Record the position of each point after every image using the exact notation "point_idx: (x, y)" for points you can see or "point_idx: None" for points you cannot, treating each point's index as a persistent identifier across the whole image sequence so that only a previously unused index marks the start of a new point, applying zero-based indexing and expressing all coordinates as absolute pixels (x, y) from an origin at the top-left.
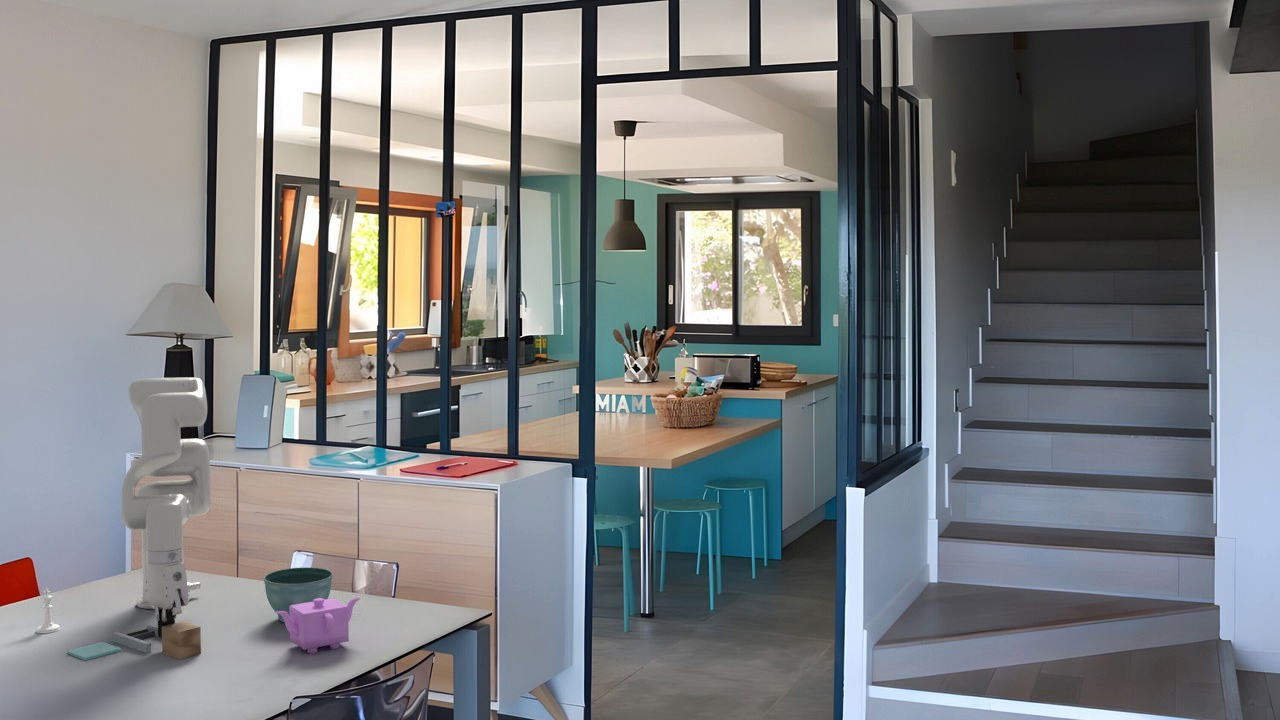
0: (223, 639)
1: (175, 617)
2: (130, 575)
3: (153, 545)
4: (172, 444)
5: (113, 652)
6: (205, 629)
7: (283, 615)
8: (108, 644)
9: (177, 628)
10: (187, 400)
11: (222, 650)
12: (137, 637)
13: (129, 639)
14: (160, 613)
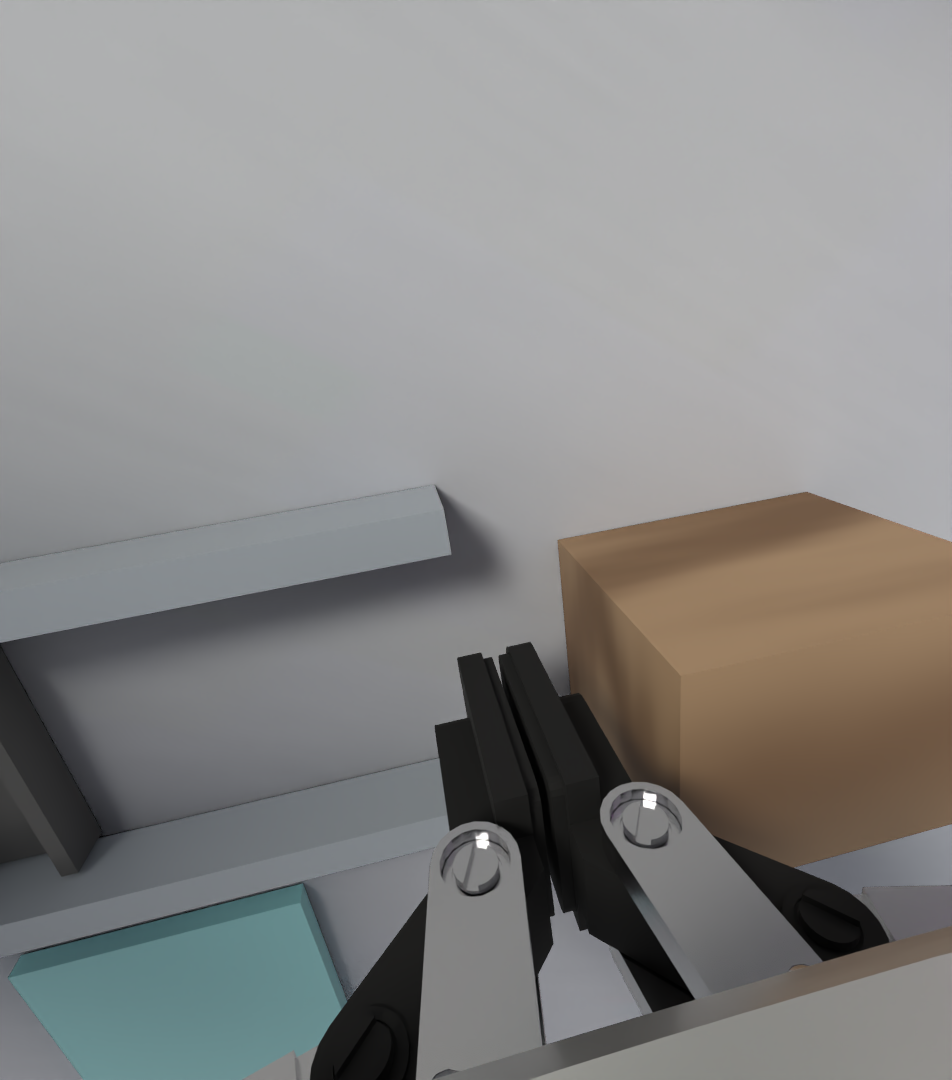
0: (615, 113)
1: (677, 808)
2: None
3: None
4: None
5: (317, 925)
6: (14, 31)
7: None
8: (126, 954)
9: (889, 795)
10: None
11: (891, 320)
12: (48, 780)
13: (226, 892)
14: (541, 1028)
